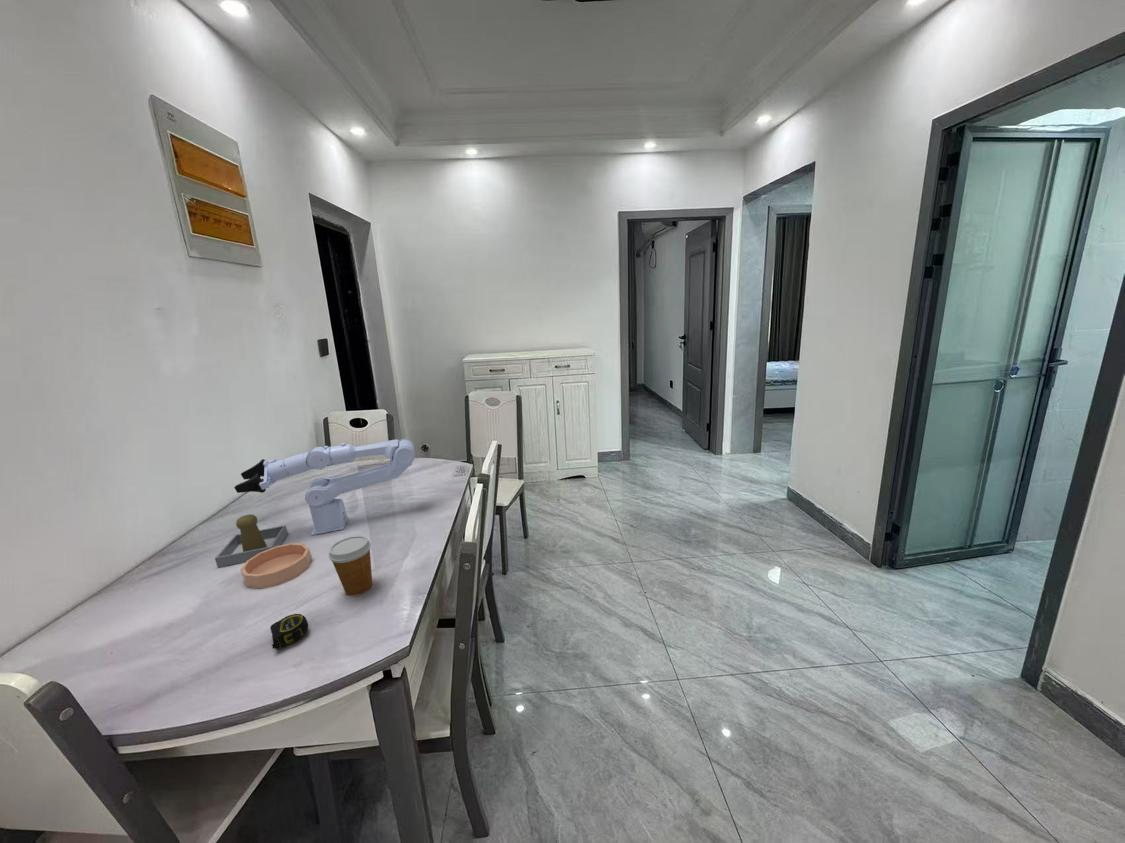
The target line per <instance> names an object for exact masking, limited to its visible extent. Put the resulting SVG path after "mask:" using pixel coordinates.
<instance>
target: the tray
mask: <svg viewBox="0 0 1125 843" xmlns="http://www.w3.org/2000/svg"><path fill="white" fill-rule="evenodd" d="M259 531H260V533H261V535H262V537H263V539H264V540H267V539H272V537H273V541H272V542H271V544H270V546H267V547H266V548H261V549H255V550H250V551H245V552H243V551H241V552H237V553H233V552H234V551H235V550H236V549H237V547H239V545H241V544H242V540H241V533H237V534H234V536H232V538H230V540H229V541H228V543H227V544H226V545H225V546H224V547H223V548H222V549H221V551H220V552H218V554H217V555H216V556H215V558H214V561H215V563H216V566H217V568H223V567H222V566H224V567H227V566H226V565H229V566H232V565H231V564H234V565H237V564H236V563H239V564H243V563H242V562H244V563H245V562H246V561H248V560H249V559H251V558H252V557H254V556H255V555H257V554H259V553H260V552H263V551H266V550H268V549H271V548H273V547H276V546H280V545H283V543H284V541H285V539H286V538H287V536H288V535H289V532H288V528H287V525H280V526H275V527H271V528H269V527H268V528H264V529H259ZM240 543H241V544H240ZM235 548H236V549H235ZM234 549H235V550H234ZM231 553H232V554H231Z"/></svg>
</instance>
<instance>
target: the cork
mask: <svg viewBox="0 0 1125 843" xmlns="http://www.w3.org/2000/svg"><path fill="white" fill-rule="evenodd" d="M257 524H258V517H257V516H256V514H255V515H254V514H246V515H243V516H242V515H241V516H240V517H238V518H237V520H236V522H235V526H236V527H237V529H239V530H240V534H241V540H242V543H241V545H242V552H245V551H250V550H255V549H261V548H266V547H268V545H267V543H266V541H265V539H263V537H262V535H261V533H260V531H259V530H260V529H259V527H258V525H257Z"/></svg>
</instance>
